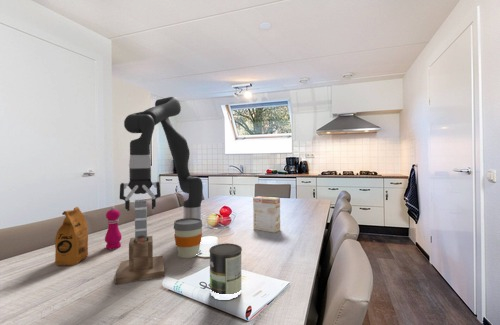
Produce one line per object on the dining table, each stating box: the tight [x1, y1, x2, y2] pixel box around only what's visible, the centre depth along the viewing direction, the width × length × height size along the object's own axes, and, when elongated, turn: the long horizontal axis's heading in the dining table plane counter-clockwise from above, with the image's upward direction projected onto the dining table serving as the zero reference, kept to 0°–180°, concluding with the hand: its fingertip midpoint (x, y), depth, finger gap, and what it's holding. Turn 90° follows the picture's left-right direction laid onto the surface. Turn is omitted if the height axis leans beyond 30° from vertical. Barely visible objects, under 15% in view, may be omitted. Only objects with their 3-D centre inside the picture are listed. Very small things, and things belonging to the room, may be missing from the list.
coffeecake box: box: [252, 195, 281, 234], centre depth 154 cm, size 15×7×20 cm, turn 58°
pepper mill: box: [104, 205, 123, 250], centre depth 125 cm, size 7×7×20 cm
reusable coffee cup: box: [173, 218, 203, 259], centre depth 115 cm, size 12×13×15 cm
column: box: [134, 198, 148, 242], centre depth 98 cm, size 4×4×18 cm
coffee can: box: [209, 242, 243, 294], centre depth 82 cm, size 10×10×14 cm
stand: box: [114, 235, 165, 285], centre depth 98 cm, size 16×16×14 cm
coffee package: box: [54, 206, 89, 267], centre depth 109 cm, size 10×12×22 cm
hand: (140, 209), depth 98 cm, fingers open, 8 cm apart
